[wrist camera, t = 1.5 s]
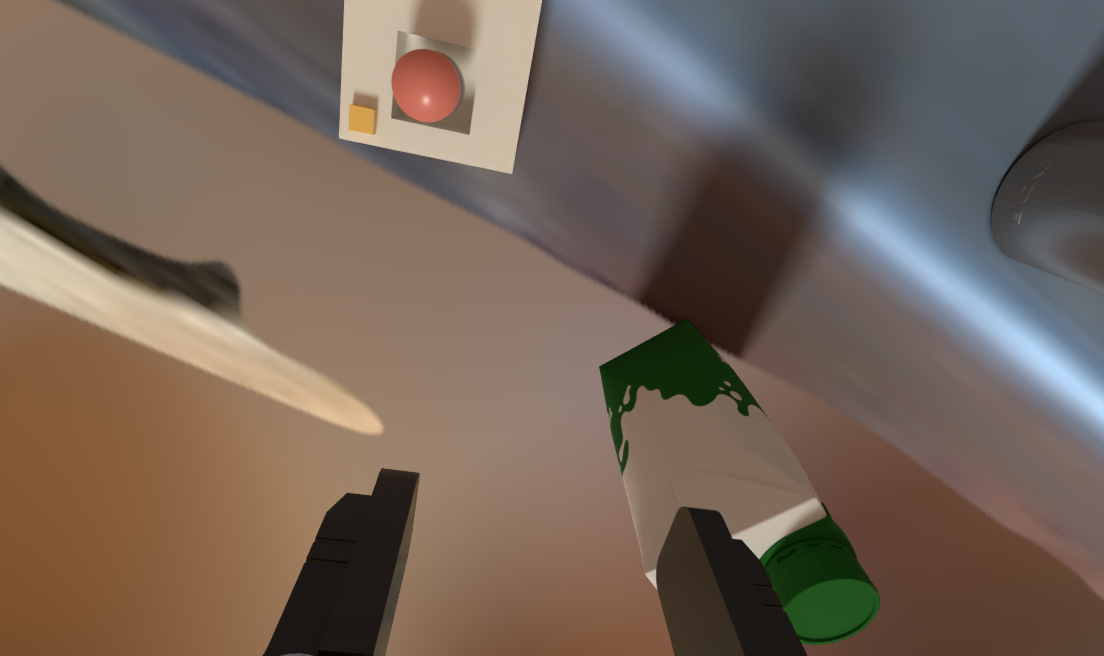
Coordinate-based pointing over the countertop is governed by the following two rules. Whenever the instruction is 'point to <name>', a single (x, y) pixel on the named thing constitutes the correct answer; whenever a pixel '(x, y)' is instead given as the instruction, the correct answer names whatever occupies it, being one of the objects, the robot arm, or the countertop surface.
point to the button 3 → (427, 85)
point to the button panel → (472, 43)
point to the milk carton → (729, 478)
